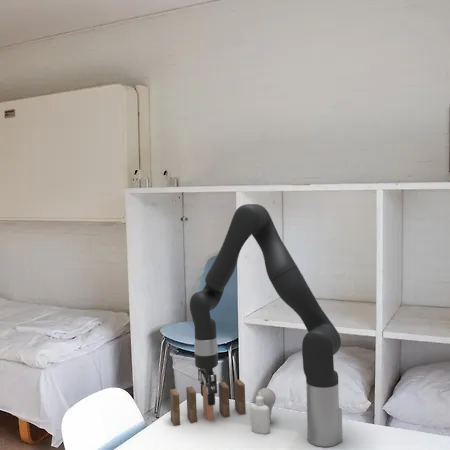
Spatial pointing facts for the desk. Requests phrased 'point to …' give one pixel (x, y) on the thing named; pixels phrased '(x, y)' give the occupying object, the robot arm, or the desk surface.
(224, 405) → the domino
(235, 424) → the desk surface
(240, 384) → the domino
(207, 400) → the domino
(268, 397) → the lightbulb
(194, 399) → the domino
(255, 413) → the eye dropper bottle
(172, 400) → the domino
